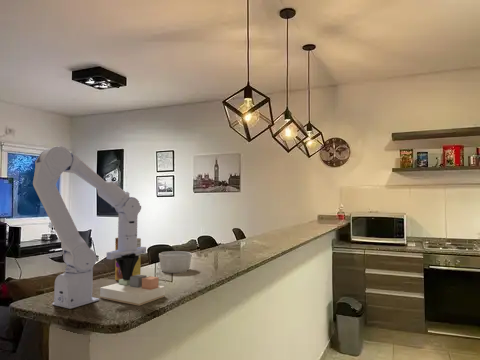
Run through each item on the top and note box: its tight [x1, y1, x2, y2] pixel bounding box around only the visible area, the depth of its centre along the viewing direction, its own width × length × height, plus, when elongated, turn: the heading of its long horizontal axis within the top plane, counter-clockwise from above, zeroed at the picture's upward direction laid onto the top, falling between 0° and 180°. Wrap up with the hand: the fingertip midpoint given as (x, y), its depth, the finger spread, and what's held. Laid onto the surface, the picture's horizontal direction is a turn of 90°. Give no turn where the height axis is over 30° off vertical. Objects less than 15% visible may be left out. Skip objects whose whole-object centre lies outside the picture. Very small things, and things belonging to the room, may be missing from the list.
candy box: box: [114, 237, 142, 281], centre depth 129 cm, size 9×4×15 cm, turn 60°
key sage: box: [118, 279, 130, 286], centre depth 112 cm, size 3×3×3 cm
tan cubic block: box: [142, 275, 160, 290], centre depth 108 cm, size 3×3×3 cm
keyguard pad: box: [99, 282, 166, 307], centre depth 108 cm, size 10×16×3 cm
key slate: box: [130, 274, 148, 288], centre depth 110 cm, size 3×3×3 cm
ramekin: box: [158, 250, 193, 274], centre depth 148 cm, size 13×13×7 cm
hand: (126, 279), depth 112 cm, fingers closed, pressing on key sage
